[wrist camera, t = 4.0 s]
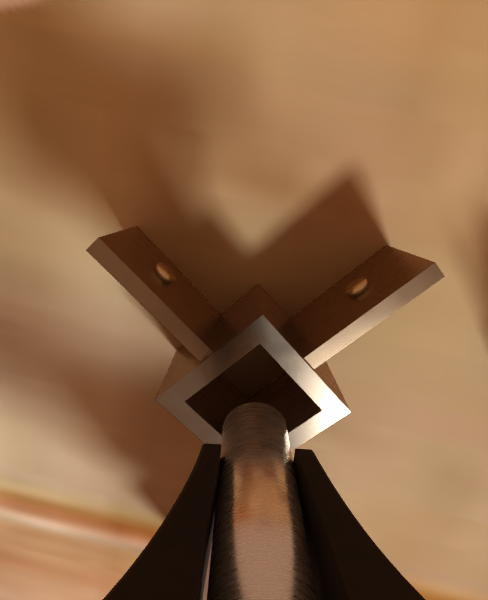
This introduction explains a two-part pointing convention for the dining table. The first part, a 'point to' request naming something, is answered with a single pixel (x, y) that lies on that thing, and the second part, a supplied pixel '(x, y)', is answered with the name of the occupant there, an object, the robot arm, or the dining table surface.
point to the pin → (258, 513)
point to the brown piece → (259, 333)
